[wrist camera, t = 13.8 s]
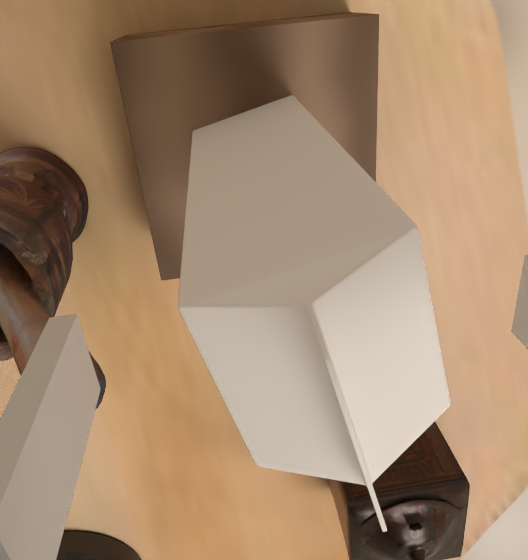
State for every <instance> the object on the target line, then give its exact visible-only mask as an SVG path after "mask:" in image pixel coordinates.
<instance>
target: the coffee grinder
mask: <svg viewBox="0 0 528 560" xmlns="http://www.w3.org/2000/svg"><path fill="white" fill-rule="evenodd" d="M328 482H329V486H330V489H331V493H332V495H333V498H334V502H335V505H336V509H337V512H338V516H339V520H340V523H341V527H342V531H343V535H344V539H345V543H346V547H347V551H348V555H349V559H350V560H444V559H449V558H455V557H460V556H461V551H462V546H463V539H464V530H465V523H466V515H467V508H468V498H469V486H470V485H469V482H468V480H467V478H466V476H465V475H464V473H463V471H462V469H461V468H460V466H459V464H458V462H457V460H456V458H455V457H454V455H453V453H452V451H451V449H450V447H449V446H448V444H447V442H446V440H445V438H444V437H443V435H442V433H441V431H440V430H439V428H438V426H437V424H436V423H435V421H434V422H433V423H432V424H431V425H430V426H429V427H428V428H427V429H426V430H425V431H424V432H423V433H422V434H421V435H420V436H419V437H418V438H417V439H416V440H415V441H414V442H413V443H412V444H411V445H410V446H409V447H408V448H407V449H406V450H405V451H404V452H403V453H402V454H401V455H400V456H399V457H398V458H397V459H396V460H395V461H394V462H393V463H392V464H391V465H390V466H389V467H388V468H387V469H386V470H385V471H384V472H383V473H382V474H381V475H380V476H379V477H378V478H377V479H376V480H375V481H374V482H373V484H372V485H373V488H374V491H375V494H376V497H377V500H378V503H379V506H380V509H381V512H382V515H383V518H384V521H385V524H386V527H387V531H385V532H383V531H382V529H381V526H380V523H379V520H378V517H377V514H376V511H375V508H374V505H373V502H372V499H371V496H370V493H369V490H368V488H367V486H365V485H361V484H355V483H350V482H344V481H338V480H332V479H328Z"/></svg>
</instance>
